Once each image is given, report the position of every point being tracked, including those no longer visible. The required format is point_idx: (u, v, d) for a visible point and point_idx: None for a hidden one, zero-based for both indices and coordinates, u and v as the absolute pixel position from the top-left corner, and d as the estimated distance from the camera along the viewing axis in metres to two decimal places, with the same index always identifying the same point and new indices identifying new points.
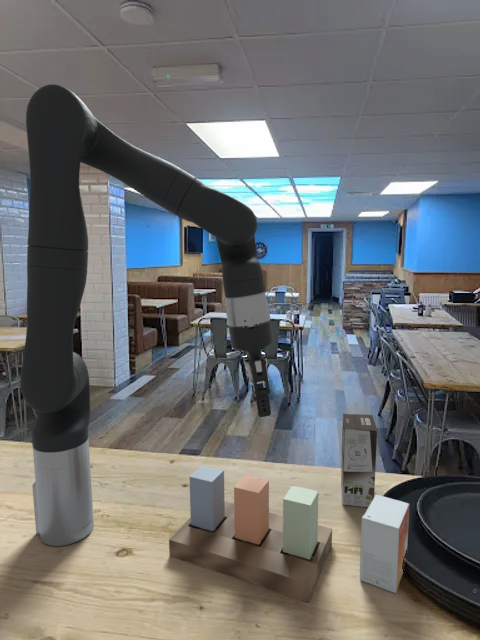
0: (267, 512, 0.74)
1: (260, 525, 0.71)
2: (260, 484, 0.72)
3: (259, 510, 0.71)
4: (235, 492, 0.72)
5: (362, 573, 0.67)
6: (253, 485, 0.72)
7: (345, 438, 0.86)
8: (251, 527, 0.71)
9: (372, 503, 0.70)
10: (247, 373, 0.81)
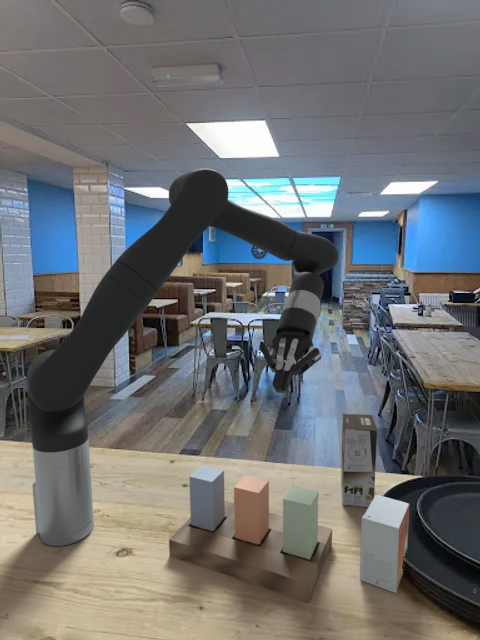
0: (267, 512, 0.74)
1: (260, 525, 0.71)
2: (260, 484, 0.72)
3: (259, 510, 0.71)
4: (235, 492, 0.72)
5: (362, 573, 0.67)
6: (253, 485, 0.72)
7: (345, 438, 0.86)
8: (251, 527, 0.71)
9: (372, 503, 0.70)
10: (283, 356, 0.84)
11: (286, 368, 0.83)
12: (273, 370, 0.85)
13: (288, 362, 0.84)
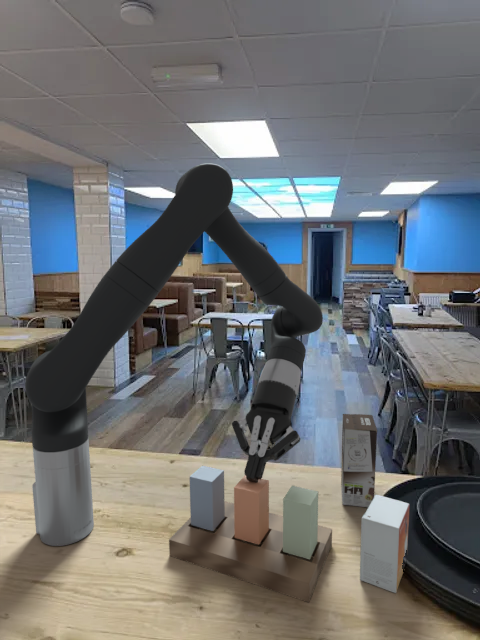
0: (267, 512, 0.74)
1: (260, 525, 0.71)
2: (260, 485, 0.72)
3: (259, 510, 0.71)
4: (235, 492, 0.72)
5: (362, 573, 0.67)
6: (253, 485, 0.72)
7: (345, 438, 0.86)
8: (251, 527, 0.71)
9: (372, 503, 0.70)
10: (257, 438, 0.75)
11: (260, 453, 0.74)
12: (246, 453, 0.76)
13: (263, 446, 0.74)
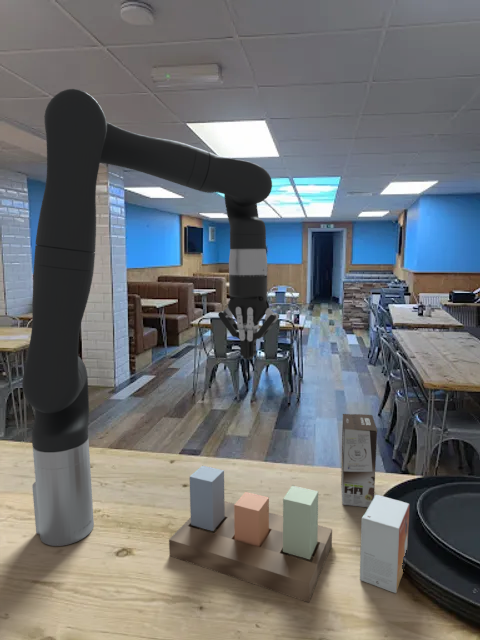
0: (267, 529, 0.74)
1: (260, 542, 0.72)
2: (260, 502, 0.73)
3: (259, 528, 0.71)
4: (235, 510, 0.72)
5: (362, 573, 0.67)
6: (253, 502, 0.73)
7: (345, 438, 0.86)
8: (251, 544, 0.72)
9: (372, 503, 0.70)
10: (243, 326, 0.87)
11: (249, 339, 0.87)
12: None
13: (249, 332, 0.87)
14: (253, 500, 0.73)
